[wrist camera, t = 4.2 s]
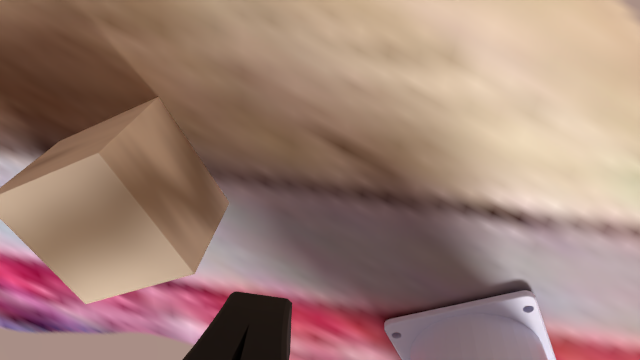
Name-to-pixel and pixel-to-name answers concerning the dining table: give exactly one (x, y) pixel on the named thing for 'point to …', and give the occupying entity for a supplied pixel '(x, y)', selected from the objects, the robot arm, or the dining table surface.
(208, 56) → the dining table surface
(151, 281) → the ash block
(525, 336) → the robot arm
